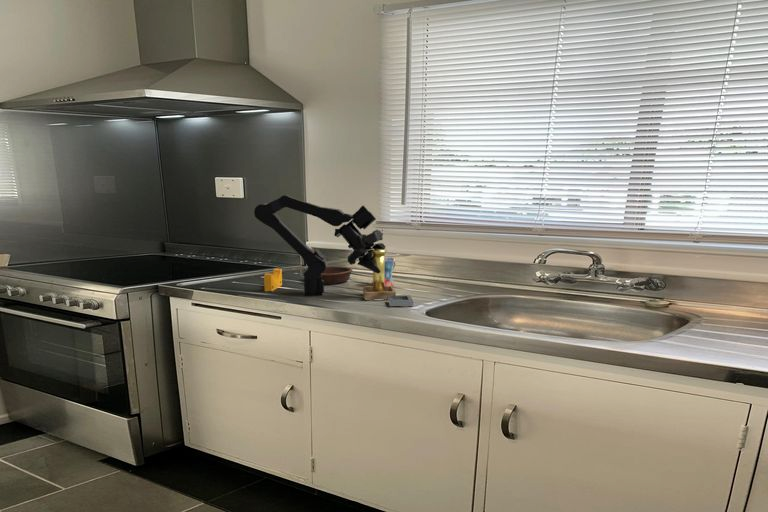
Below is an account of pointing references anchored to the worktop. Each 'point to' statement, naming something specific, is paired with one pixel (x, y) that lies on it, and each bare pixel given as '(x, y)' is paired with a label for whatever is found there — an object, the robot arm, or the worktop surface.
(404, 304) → the block
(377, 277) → the pin
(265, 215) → the robot arm
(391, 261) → the mug
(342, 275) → the dish
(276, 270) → the pipe clamp
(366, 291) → the tray
